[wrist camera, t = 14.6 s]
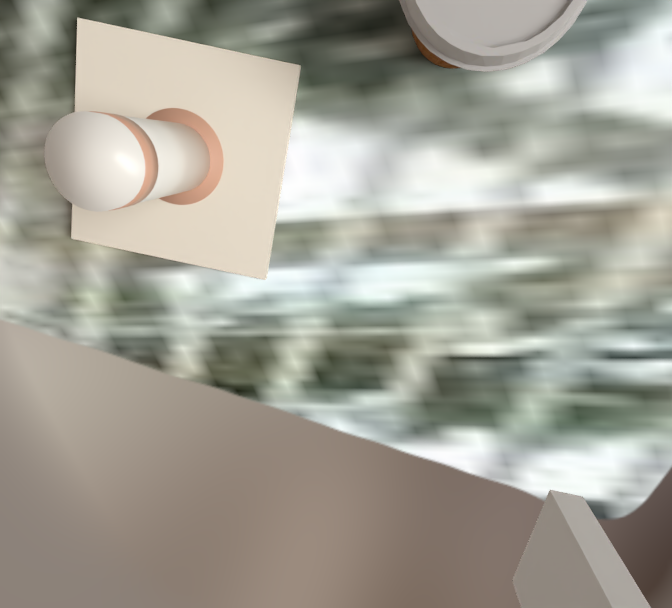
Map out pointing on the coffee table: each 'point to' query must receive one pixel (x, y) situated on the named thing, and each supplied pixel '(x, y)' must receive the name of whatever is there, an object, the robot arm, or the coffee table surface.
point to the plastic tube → (122, 159)
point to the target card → (215, 128)
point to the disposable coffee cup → (488, 30)
